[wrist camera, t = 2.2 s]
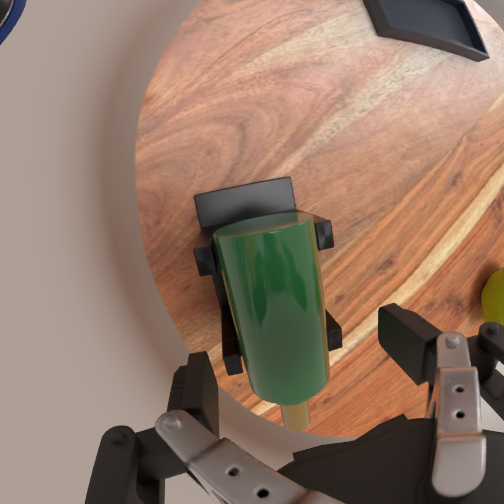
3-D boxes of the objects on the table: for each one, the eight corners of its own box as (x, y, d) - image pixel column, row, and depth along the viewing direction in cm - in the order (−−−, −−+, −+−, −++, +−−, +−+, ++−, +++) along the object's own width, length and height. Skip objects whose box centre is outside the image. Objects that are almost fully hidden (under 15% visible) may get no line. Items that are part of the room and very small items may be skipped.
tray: (378, 36, 21) (389, 26, 18) (349, -26, 18) (358, -37, 16) (478, 62, 22) (490, 58, 20) (454, 6, 20) (464, 1, 17)
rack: (194, 195, 23) (179, 200, 14) (287, 176, 24) (325, 172, 15) (230, 341, 26) (235, 404, 18) (309, 322, 27) (344, 376, 18)
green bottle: (214, 226, 17) (210, 243, 12) (298, 209, 17) (328, 219, 12) (259, 408, 21) (268, 456, 16) (320, 393, 21) (341, 436, 16)
